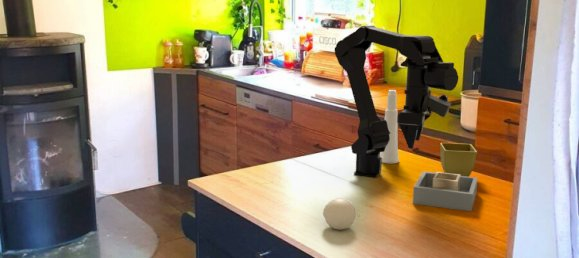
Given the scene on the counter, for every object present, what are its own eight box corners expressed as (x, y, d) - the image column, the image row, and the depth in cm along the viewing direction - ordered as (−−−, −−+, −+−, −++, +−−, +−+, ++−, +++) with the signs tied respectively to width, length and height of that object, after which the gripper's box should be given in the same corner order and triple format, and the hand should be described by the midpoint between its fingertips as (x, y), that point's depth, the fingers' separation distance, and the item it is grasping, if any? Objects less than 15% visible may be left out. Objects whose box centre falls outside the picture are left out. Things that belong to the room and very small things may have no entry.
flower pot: (468, 173, 175) (471, 143, 173) (474, 183, 166) (477, 151, 164) (437, 172, 176) (439, 142, 174) (442, 181, 167) (444, 150, 165)
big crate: (412, 203, 150) (413, 186, 149) (422, 186, 163) (423, 171, 162) (471, 211, 145) (472, 194, 144) (476, 193, 158) (477, 177, 157)
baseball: (334, 219, 139) (334, 191, 138) (360, 227, 135) (361, 199, 133) (316, 228, 134) (316, 199, 133) (343, 236, 130) (344, 207, 128)
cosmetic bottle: (378, 157, 190) (381, 88, 185) (398, 158, 189) (401, 89, 184) (379, 163, 184) (382, 91, 179) (399, 164, 183) (403, 92, 178)
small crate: (431, 197, 152) (433, 178, 151) (435, 190, 157) (436, 171, 156) (456, 200, 150) (457, 181, 149) (459, 193, 155) (460, 174, 154)
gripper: (444, 93, 144) (440, 156, 148) (454, 82, 161) (449, 139, 165) (398, 90, 148) (395, 151, 152) (412, 79, 165) (408, 135, 169)
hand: (414, 144), depth 159 cm, fingers open, 9 cm apart
